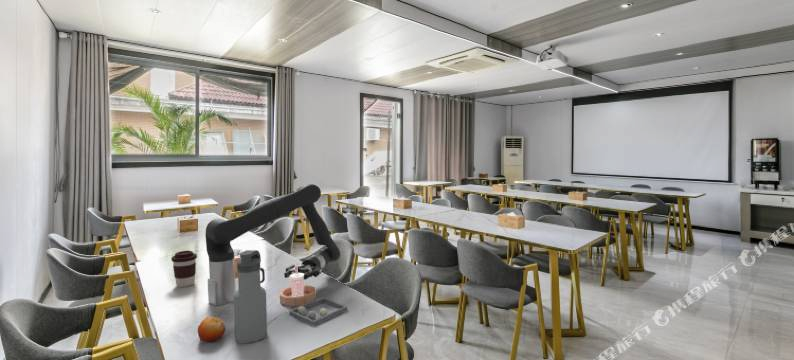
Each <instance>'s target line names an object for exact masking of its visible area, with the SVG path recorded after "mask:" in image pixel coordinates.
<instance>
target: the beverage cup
mask: <svg viewBox="0 0 794 360" xmlns="http://www.w3.org/2000/svg"><path fill="white" fill-rule="evenodd" d="M298 264H299V263H298V262H296V264H295V267H296V266H297V270H296V271H297V273H294V272H293V273H294V274H291V275H290V276H289V279H290V286H291V291H292V297H298V296H304V285H305V280H304V273H298V266H299V265H298Z"/></svg>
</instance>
